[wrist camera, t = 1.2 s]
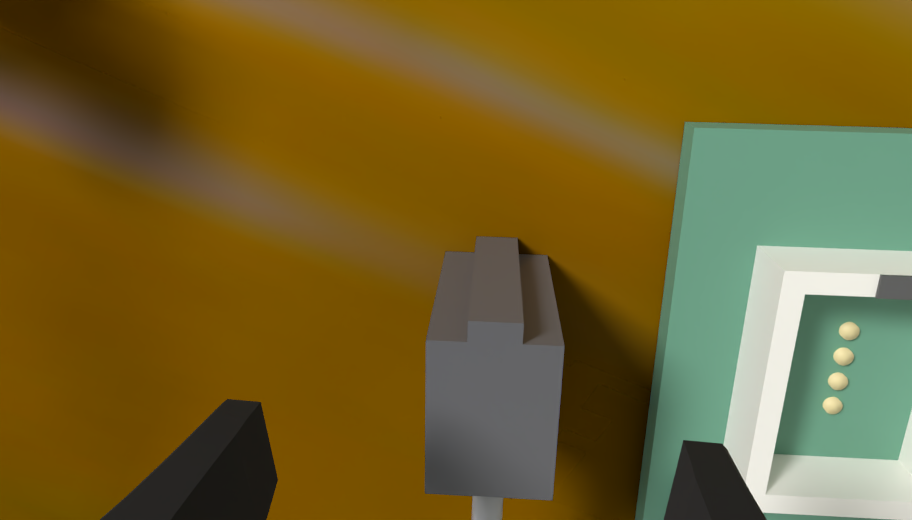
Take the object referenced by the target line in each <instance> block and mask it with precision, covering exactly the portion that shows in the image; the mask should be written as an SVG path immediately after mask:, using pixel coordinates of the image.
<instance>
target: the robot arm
mask: <svg viewBox="0 0 912 520" xmlns="http://www.w3.org/2000/svg"><path fill="white" fill-rule="evenodd" d="M277 480H278V479H277V474H276V470H275V465H274V461H273V456H272V451H271V447H270V442H269V438H268V433H267V429H266V424H265V420H264V415H263V411H262V406H261V402H253V401H242V400H231V399H227V400H226V401H225V402H223V403H222V404H221V405H220V406H219V407H218V408H217V409H216V410H215V411H214V412H213V413H212V414H211V415H210V416H209V417H208V418H207V419H206V420H205V421H204V422H203V423H202V424H201V425H200V426H199V427H198V428H197V429H196V430H195V431H194V432H193V433H192V434H191V435H190V436H189V437H188V438H187V439H186V440H185V441H184V442H183V443H182V444H181V445H180V446H179V447H178V448H177V449H176V450H175V451H174V452H173V453H172V454H171V455H170V456H169V457H168V458H167V459H165V460H164V461H163V462H162V463H161V464H160V465H159V466H158V467H157V468H156V469H155V470H154V471H153V472H152V473H151V474H150V475H149V476H148V477H146V478H145V479H144V480H143V481H142V482H141V483H140V484H139V485H138V486H137V487H136V488H135V489H134V490H133V491H132V492H131V493H130V494H128V495H127V496H126V497H125V498H124V499H123V500H122V501H121V502H120V503H118V504H117V505H116V506H115V507H114V508H113V509H112V510H110V511H109V512H108V513H107V514H106V515H105V516H104V517H102V518H101V519H100V520H266V518H267V515H268V512H269V509H270V505H271V502H272V498H273V495H274V491H275V488H276V484H277ZM664 520H767V519H766V517H765V516H764V514H763V512H762V511H761V509H760V507H759V506H758V504H757V502H756V500H755V499H754V497H753V495H752V494H751V492H750V490H749V488H748V487H747V485H746V483H745V481H744V479H743V478H742V476H741V474H740V472H739V470H738V469H737V467H736V465H735V463H734V461H733V459H732V457H731V456H730V454H729V452H728V450H727V448H726V447H725V446H724V445H723V444H722V443H711V442H700V441H689V440H683V444H682V448H681V452H680V456H679V460H678V464H677V468H676V472H675V476H674V480H673V484H672V488H671V492H670V496H669V500H668V504H667V508H666V512H665V516H664Z"/></svg>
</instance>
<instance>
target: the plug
mask: <svg viewBox="0 0 912 520" xmlns="http://www.w3.org/2000/svg"><path fill="white" fill-rule="evenodd" d="M564 348H565V346H564V341H563V335H562V330H561V325H560V320H559V314H558V309H557V304H556V299H555V293H554V288H553V283H552V277H551V272H550V267H549V262H548V256H547V255H528V254H519V252H518V238H505V237H476V246H475V253H474V252H447V251H446V252H445V257H444V261H443V266H442V270H441V275H440V279H439V284H438V288H437V293H436V297H435V302H434V306H433V311H432V315H431V320H430V324H429V329H428V333H427V337H426V403H425V493H426V494H445V495H464V496H472V520H502V511H503V498H519V499H538V500H553V488H554V475H555V463H556V450H557V437H558V424H559V411H560V399H561V386H562V373H563V360H564Z"/></svg>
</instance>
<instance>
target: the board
mask: <svg viewBox="0 0 912 520" xmlns="http://www.w3.org/2000/svg"><path fill="white" fill-rule="evenodd" d="M683 440H689V441H700V442H711V443H722V444H723V445H724V446H725V447H726V448H727V450H728V452H729V454H730V456H731V457H732V459H733V461H734V463H735V465H736V467H737V469H738V470H739V472H740V474H741V476H742V478H743V479H744V481H745V483H746V485H747V487H748V488H749V490H750V492H751V494H752V495H753V497H754V499H755V500H756V502H757V504H758V506H759V507H760V509H761V511H762V512H763V514H764V516H765V517H766V519H767V520H912V128H884V127H848V126H812V125H777V124H741V123H706V122H685V126H684V134H683V142H682V150H681V158H680V165H679V173H678V181H677V189H676V197H675V205H674V213H673V221H672V229H671V237H670V245H669V253H668V261H667V269H666V277H665V285H664V293H663V301H662V309H661V317H660V325H659V333H658V340H657V348H656V356H655V364H654V372H653V380H652V388H651V396H650V404H649V412H648V420H647V428H646V436H645V444H644V452H643V460H642V468H641V476H640V484H639V492H638V500H637V508H636V515H635V520H664V516H665V512H666V508H667V504H668V500H669V496H670V492H671V488H672V484H673V480H674V476H675V472H676V468H677V464H678V460H679V456H680V452H681V448H682V444H683Z"/></svg>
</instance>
